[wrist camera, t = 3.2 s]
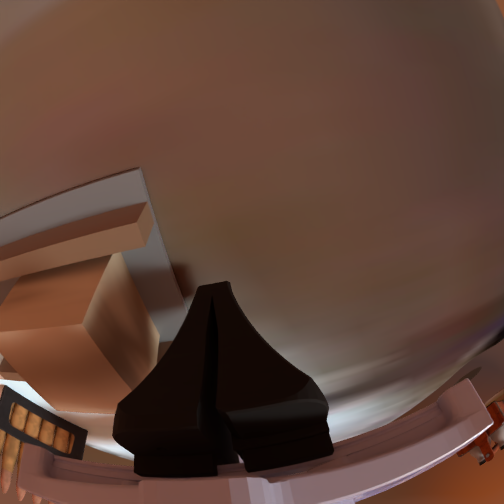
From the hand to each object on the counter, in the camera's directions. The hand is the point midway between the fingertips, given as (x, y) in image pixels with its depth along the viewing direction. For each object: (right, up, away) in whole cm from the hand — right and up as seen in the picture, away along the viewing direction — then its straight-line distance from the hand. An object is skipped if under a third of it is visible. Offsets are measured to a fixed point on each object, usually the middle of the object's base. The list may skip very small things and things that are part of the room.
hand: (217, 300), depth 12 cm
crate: (-7, -1, +1) cm, 7 cm away
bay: (-11, -1, +1) cm, 11 cm away
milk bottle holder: (+88, -61, +54) cm, 120 cm away
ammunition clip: (-21, -15, +8) cm, 27 cm away
